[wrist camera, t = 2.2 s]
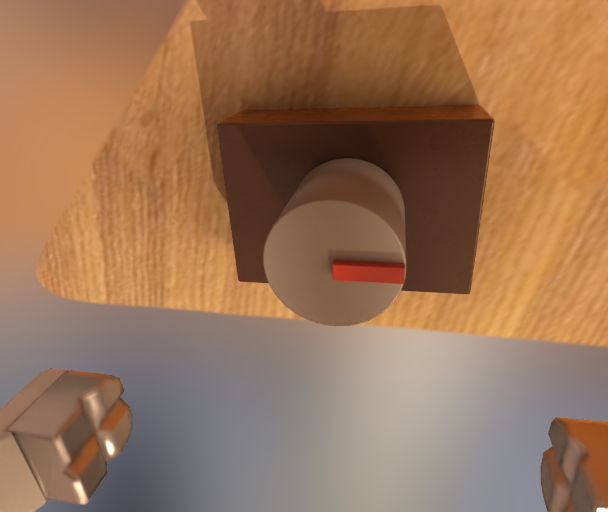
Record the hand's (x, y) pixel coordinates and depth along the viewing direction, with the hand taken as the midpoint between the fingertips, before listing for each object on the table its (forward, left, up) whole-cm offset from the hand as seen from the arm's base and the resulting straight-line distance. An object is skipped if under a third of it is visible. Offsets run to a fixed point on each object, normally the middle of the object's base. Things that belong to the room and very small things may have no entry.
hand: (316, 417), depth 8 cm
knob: (0, 0, -10) cm, 10 cm away
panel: (0, 0, -13) cm, 13 cm away
